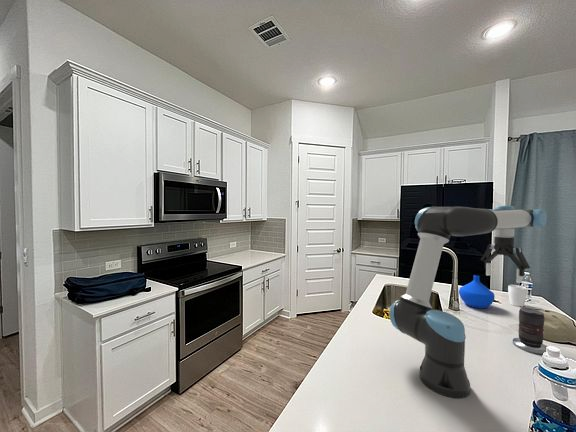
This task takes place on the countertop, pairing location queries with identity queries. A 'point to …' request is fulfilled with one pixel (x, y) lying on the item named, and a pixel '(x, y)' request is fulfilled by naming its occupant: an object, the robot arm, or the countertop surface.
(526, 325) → the camera lens
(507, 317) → the countertop surface
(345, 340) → the countertop surface
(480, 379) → the countertop surface
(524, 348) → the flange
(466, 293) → the vase
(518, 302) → the cup
